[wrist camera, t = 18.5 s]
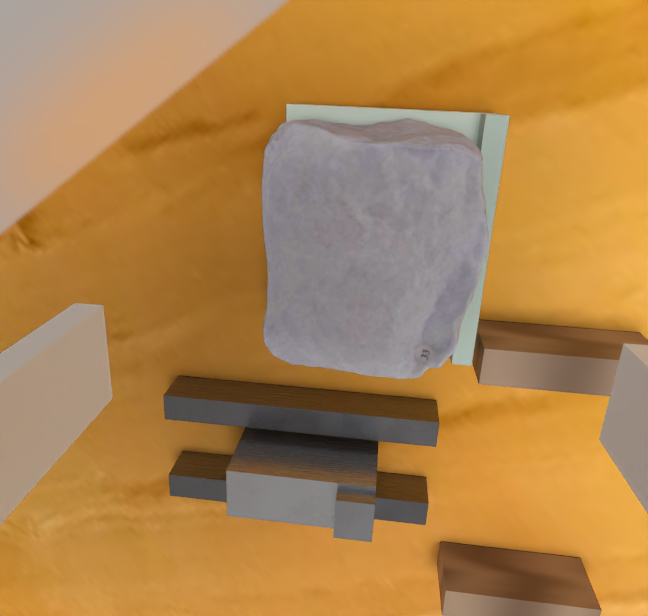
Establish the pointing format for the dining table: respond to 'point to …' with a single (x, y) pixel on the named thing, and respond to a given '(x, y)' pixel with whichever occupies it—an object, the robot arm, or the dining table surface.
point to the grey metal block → (304, 481)
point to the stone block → (370, 244)
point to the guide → (302, 417)
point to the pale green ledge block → (474, 125)
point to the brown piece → (519, 566)
